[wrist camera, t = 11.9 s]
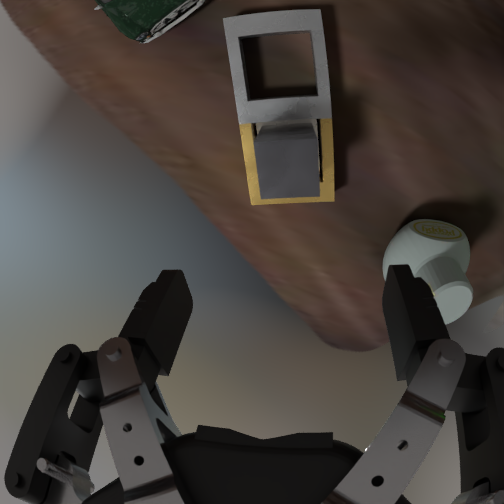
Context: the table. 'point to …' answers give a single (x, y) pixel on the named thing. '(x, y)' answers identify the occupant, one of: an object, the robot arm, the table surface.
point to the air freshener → (435, 262)
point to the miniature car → (145, 16)
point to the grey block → (287, 161)
